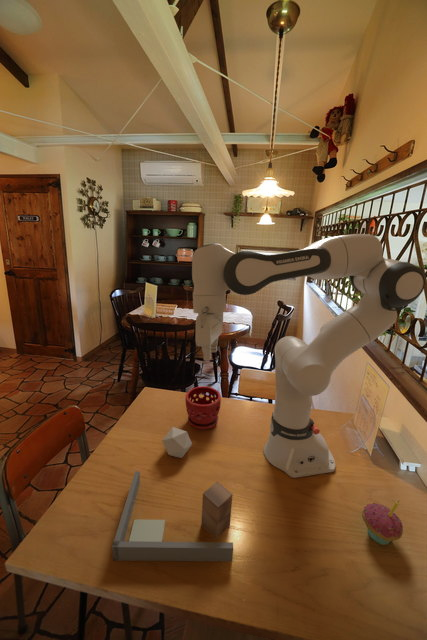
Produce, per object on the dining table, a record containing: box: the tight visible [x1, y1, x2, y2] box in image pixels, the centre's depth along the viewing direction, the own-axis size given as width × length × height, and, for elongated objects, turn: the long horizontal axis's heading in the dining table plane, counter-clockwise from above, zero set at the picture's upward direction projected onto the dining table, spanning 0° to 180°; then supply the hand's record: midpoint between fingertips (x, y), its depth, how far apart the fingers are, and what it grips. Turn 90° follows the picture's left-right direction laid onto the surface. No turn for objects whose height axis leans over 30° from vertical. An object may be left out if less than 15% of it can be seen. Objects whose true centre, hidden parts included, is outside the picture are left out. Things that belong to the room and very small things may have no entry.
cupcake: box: [361, 499, 404, 546], centre depth 67 cm, size 9×8×12 cm
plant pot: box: [185, 385, 222, 430], centre depth 106 cm, size 13×13×12 cm
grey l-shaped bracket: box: [111, 470, 234, 562], centre depth 70 cm, size 26×20×4 cm
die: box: [161, 426, 193, 459], centre depth 91 cm, size 8×9×10 cm
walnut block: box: [201, 481, 233, 541], centre depth 68 cm, size 5×5×10 cm
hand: (210, 355), depth 77 cm, fingers open, 8 cm apart
